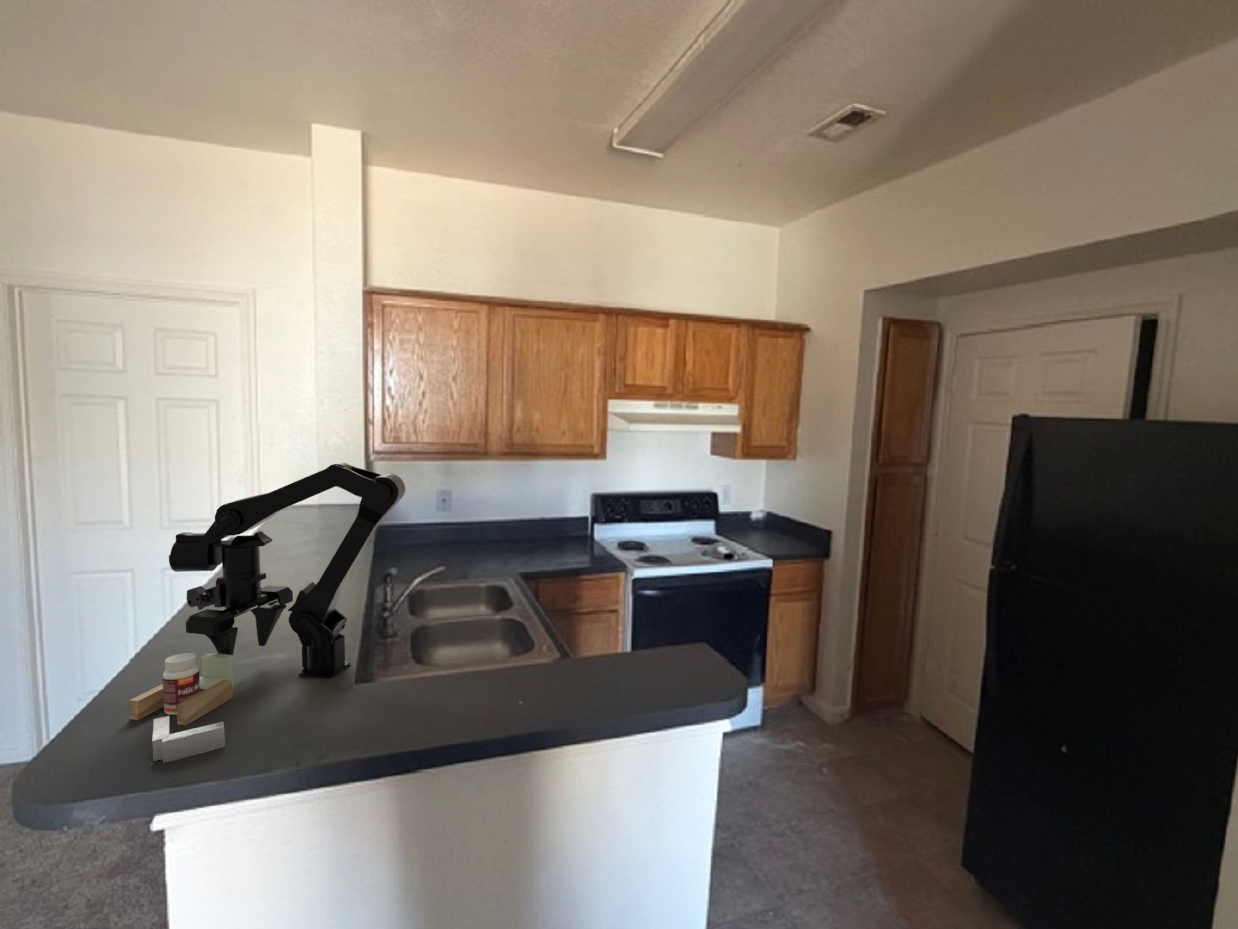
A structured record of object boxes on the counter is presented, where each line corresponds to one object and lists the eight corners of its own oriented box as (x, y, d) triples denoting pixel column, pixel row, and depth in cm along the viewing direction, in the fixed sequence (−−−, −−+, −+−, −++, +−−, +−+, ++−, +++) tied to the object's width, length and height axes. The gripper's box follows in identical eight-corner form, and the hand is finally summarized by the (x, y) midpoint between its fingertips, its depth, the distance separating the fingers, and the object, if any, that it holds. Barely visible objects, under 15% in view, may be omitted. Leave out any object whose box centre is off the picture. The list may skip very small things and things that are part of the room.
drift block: (233, 686, 103) (232, 655, 103) (207, 701, 98) (206, 668, 98) (210, 683, 104) (208, 653, 104) (182, 698, 99) (181, 666, 98)
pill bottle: (181, 717, 93) (179, 665, 93) (156, 714, 94) (153, 662, 94) (208, 703, 98) (206, 653, 97) (183, 700, 99) (181, 650, 98)
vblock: (232, 742, 87) (231, 722, 86) (195, 767, 81) (194, 745, 80) (162, 734, 88) (161, 715, 88) (121, 758, 82) (120, 737, 82)
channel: (232, 697, 100) (232, 680, 100) (186, 725, 91) (185, 706, 91) (180, 692, 101) (180, 675, 101) (130, 719, 92) (129, 700, 92)
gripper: (242, 555, 118) (245, 632, 119) (154, 581, 99) (159, 672, 101) (293, 558, 116) (296, 636, 117) (213, 586, 98) (218, 678, 99)
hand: (245, 654), depth 109 cm, fingers open, 8 cm apart
